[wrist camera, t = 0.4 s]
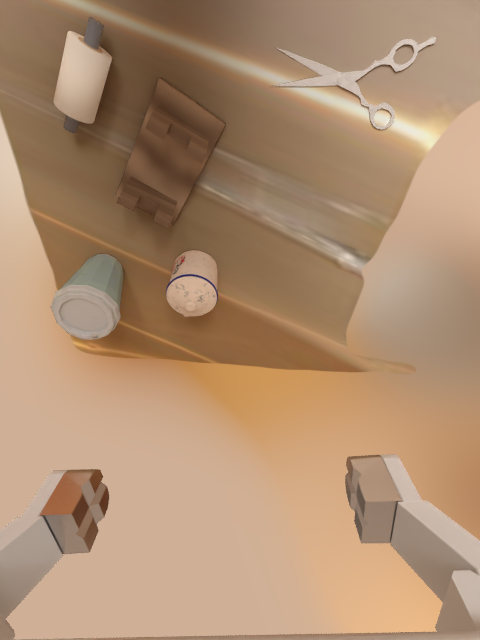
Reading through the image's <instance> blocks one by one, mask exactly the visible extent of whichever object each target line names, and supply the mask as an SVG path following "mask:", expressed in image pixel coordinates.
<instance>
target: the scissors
mask: <svg viewBox="0 0 480 640" xmlns="http://www.w3.org/2000/svg"><path fill="white" fill-rule="evenodd" d="M435 41H436V37H431V38H430V39H429V40H428V41H426V42H423V43H421V44H419V45H417V42H415V41H414V40H412V39H403V40H401V41H400V42H398V43H397V44H396V45H395V46H394V47H393V48H392V49H391V51H390V53H389V54H388V56H386V57H385V58H384V59H383V60H381V61H374V62H373V63H372V64H371V66H370V67H368V68H367V69H365V70H364V71H352V72H343V73H341V72H338V71H336V70H334V69H332V68H329V67H327V66H325V65H323V64H320V63H318V62H315V61H313V60H310V59H307V58H304V57H301V56H299V55H296V54H293V53H291V52H288V51H285V50H282V49H279V48H277V49H278V50H280V51H282V52H283V53H285V54H287V55H288V56H290V57H291V58H293V59H295V60H296V61H298V62H300V63H301V64H303V65H305V66H307V67H309V68H310V69H312V70H313V71H315V72H316V73H318V74H319V75H322V76H319V77H314V78H309V79H303V80H298V81H294V82H289V83H284V84H279V85H274V86H336V85H339V86H341V87H342V88H345V89H347V90H349V91H351V92H353V93H354V94H356V95H358V96H359V98H360V100H361V105H364V106H367V107H368V108H369V113H370V121H371V123H372V125H373V126H374V127H375V128H377V129H385V128H387V127H389V126H390V125H391V124H392V123H393V121H394V118H395V113H394V110H393V108H392V107H391V106H390V105H389V104H387V103H385V102H384V103H381V104H379V105H377V106H375V107H374V105H372V104H369V103H367V102H366V100H365V99H364V97H363V96H362V94H361V91H360V89H359V86H358V85H357V83H356V82H355V81H356V80H358V79H359V78H361V77H362V76H363V75H365V74H366V73H367V72H369V71H370V70H371V69H373V68H374V67H376V66H379V65H381V64H386V65H390V66H391V67H392V68H393V69H394V71H401V70H403V69H405V68H407V67H408V66H409V65H410V64H412V63H413V61H414V60H415V58H416V56H417V54H418V51H419V50H421V49H422V48H424V47H426V46H427V45H431V44H433V43H435ZM404 44H409V45H411V46H412V47H413V55H412V57H411V59H410V60H409V61H408V62H407V63H405V64H402V65H398V64H395V62H394V60H393V57H394V54H395V51H396V50H397V49H398V48H399V47H400V46H402V45H404ZM381 108H383V109H386V110H388V111H389V112H390V114H391V118H390V121H389V122H388V124H386V125H384V126H378V125H376V123H375V121H374V118H373V117H374V114H375V112H376V111H377V110H379V109H381Z"/></svg>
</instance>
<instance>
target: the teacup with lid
mask: <svg viewBox="0 0 480 640" xmlns="http://www.w3.org/2000/svg"><path fill="white" fill-rule="evenodd" d="M217 279H218V267H217V264H216V262H215V260H214V259H213V258H212V257H211V256H210V255H208V254H207V253H205V252H202V251H197V250H191V251H186V252H184V253H182V254H180V255H179V256H178V257H177V258H176V260H175V262H174V265H173V269H172V273H171V278H170V282H169V284H168V286H167V289H166V298H167V301H168V303H169V304H170V306H171V307H172V308H173V309H174V310H175V311H177V312H179V313H181V314H183V316H184V317H189V316H201V315H204V314H206V313H208V312H209V311H211V310H212V309H213V308H214V306H215V305H216V303H217V300H218V293H217Z"/></svg>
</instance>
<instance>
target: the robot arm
mask: <svg viewBox="0 0 480 640" xmlns="http://www.w3.org/2000/svg"><path fill="white" fill-rule="evenodd" d="M346 466H347V469H348V473H347V474H346V479H345V484H346V493H347V497H348V501H349V505H350V507H351V508H352V509H353V510H354V511H355V520H354V521H355V525H356V528H357V531H358V534H359V538H360V541H361V543H391V546H392V547H393V548H394V549H395V550H396V551H397V552H398V554H399V555H400V556H401V557H402V558H403V559H404V560H405V561H406V562H407V563H408V565H409V566H410V567H411V568H412V569H413V570H414V571H415V572H416V573H417V574H418V576H419V577H420V578H421V579H422V580H423V581H424V582H425V583H426V584H427V586H428V587H429V588H430V589H431V590H432V591H433V592H434V593H435V594H436V595H437V597H438V598H439V599H440V600H441V601H442V602H443V605H442V608H441V611H440V614H439V617H438V621H437V624H436V627H435V628H436V630H437V632H405V633H403V632H401V633H347V634H294V635H239V636H237V635H235V636H184V637H182V636H181V637H132V638H130V637H129V638H78V639H77V638H76V639H23V640H480V541H479V540H478V539H477V538H475V537H474V536H473V535H472V534H470V533H469V532H468V531H466V530H465V529H464V528H462V527H461V526H460V525H458V524H456V522H454V521H453V520H452V519H450V518H449V517H448V516H447V515H445V514H444V513H443V512H441V511H440V510H439V509H437V508H436V507H435V506H433V505H432V504H431V503H430V502H428V501H422V500H421V498H420V496H419V494H418V492H417V490H416V488H415V486H414V484H413V483H412V481H411V479H410V477H409V475H408V473H407V471H406V470H405V468H404V466H403V464H402V462H401V460H400V458H399V456H397V455H396V454H392V455H391V454H390V455H368V456H352V457H348V458H347V462H346ZM102 478H103V475H102V473H101V471H100V470H98V469H91V470H55V471H53V472H52V473H50V474H49V475H48V477H47V478H46V480H45V482H44V483H43V485H42V486H41V488H40V489H39V491H38V492H37V494H36V495H35V497H34V499H33V500H32V502H31V503H30V505H29V506H28V508H27V509H26V511H25V513H24V514H23V516H22V517H17V518H15V519H14V520H13V521H11V522H10V523H9V524H8V525H6V526H5V527H4V528H2V529H1V530H0V640H13V639H14V637H15V633H14V630H13V629H12V627H11V626H10V624H9V623H8V622H7V620H6V618H7V617H8V616H9V615H10V613H11V612H12V611H13V610H14V609H15V608H16V607H17V606H18V605H19V604H20V602H21V601H22V600H23V599H24V598H25V597H26V596H27V595H28V593H29V592H30V591H31V590H32V589H33V588H34V587H35V586H36V585H37V584H38V583H39V582H40V581H41V579H42V578H43V577H44V576H45V575H46V574H47V573H48V572H49V571H50V570H51V568H52V567H53V566H54V565H55V564H56V563H57V562H58V561H59V560H60V559H61V558H62V556H63V554H73V553H88V552H90V550H91V548H92V545H93V543H94V540H95V538H96V536H97V533H98V527H97V523H98V522H99V521H100V520H101V519H103V518H104V516H105V514H106V511H107V508H108V501H109V492H108V488H107V486H106V485H104V484H103V483H102V482H101V480H102Z"/></svg>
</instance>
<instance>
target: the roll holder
mask: <svg viewBox="0 0 480 640" xmlns="http://www.w3.org/2000/svg"><path fill="white" fill-rule="evenodd" d="M225 124H226V123H225V122H223V121H222V120H220V119H219V118H218V117H216V116H215V115H213V114H212V113H210V112H209V111H207V110H206V109H205V108H203V107H202V106H200V105H199V104H197V103H196V102H194V101H193V100H192V99H190V98H189V97H187V96H186V95H184V94H183V93H181V92H180V91H179V90H177V89H176V88H174V87H173V86H171V85H170V84H168V83H167V82H166V81H164V80H163V79H161V78H160V79H159V81H158V83H157V86H156V89H155V91H154V94H153V97H152V100H151V102H150V105H149V108H148V110H147V113H146V116H145V118H144V121H143V124H142V126H141V129H140V132H139V134H138V137H137V140H136V143H135V145H134V148H133V151H132V153H131V156H130V159H129V161H128V164H127V167H126V169H125V172H124V175H123V177H122V180H121V183H120V186H119V188H118V191H117V194H116V196H118V197H119V198H118V201H117V203H119V204H120V205H122V206H124V207H126V208H128V209H130V210H132V211H134V209H135V207H136V206H137V207H139V208H141V209H143V210H145V211H146V212H148V213H150V214H152V215H154V216H155V217H154V219H153V222H155V223H157V224H159V225H161V226H163V227H165V228H167V229H168V228H169V226H170V224H171V225H173V224H174V223H175V221H176V219H177V217H178V215H179V213H180V211H181V209H182V207H183V205H184V203H185V201H186V200H187V198H188V196H189V194H190V192H191V190H192V188H193V186H194V184H195V182H196V180H197V178H198V176H199V175H200V173H201V171H202V169H203V167H204V165H205V163H206V161H207V159H208V157H209V155H210V153H211V152H212V150H213V148H214V146H215V144H216V142H217V140H218V138H219V136H220V134H221V132H222V130H223V128H224V127H225Z"/></svg>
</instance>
